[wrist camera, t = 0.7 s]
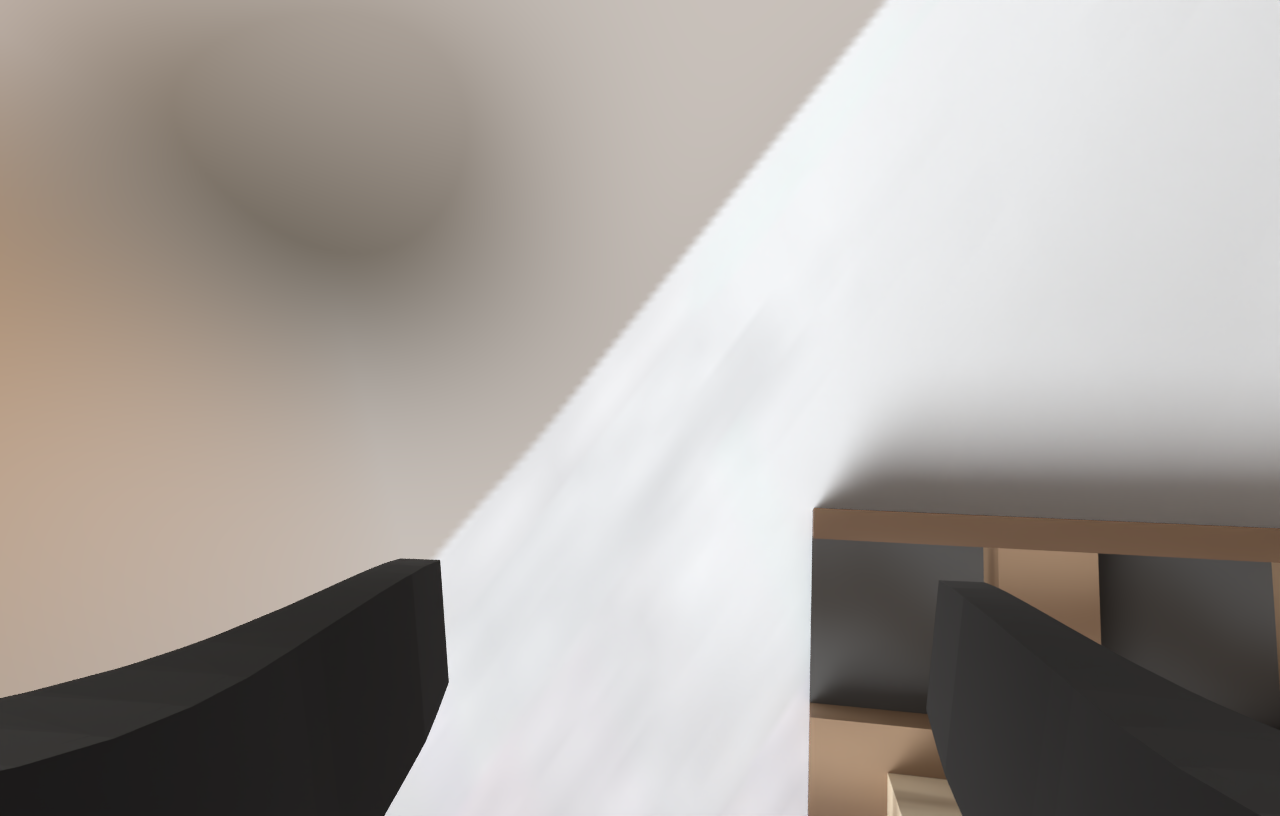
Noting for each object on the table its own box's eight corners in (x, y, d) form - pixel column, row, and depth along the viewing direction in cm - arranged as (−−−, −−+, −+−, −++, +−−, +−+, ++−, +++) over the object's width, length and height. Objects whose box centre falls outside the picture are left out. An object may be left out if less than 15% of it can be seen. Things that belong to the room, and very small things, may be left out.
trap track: (1618, 1103, 22) (1791, 1227, 18) (805, 966, 27) (805, 1040, 23) (1553, 543, 24) (1694, 546, 20) (812, 509, 29) (814, 508, 25)
